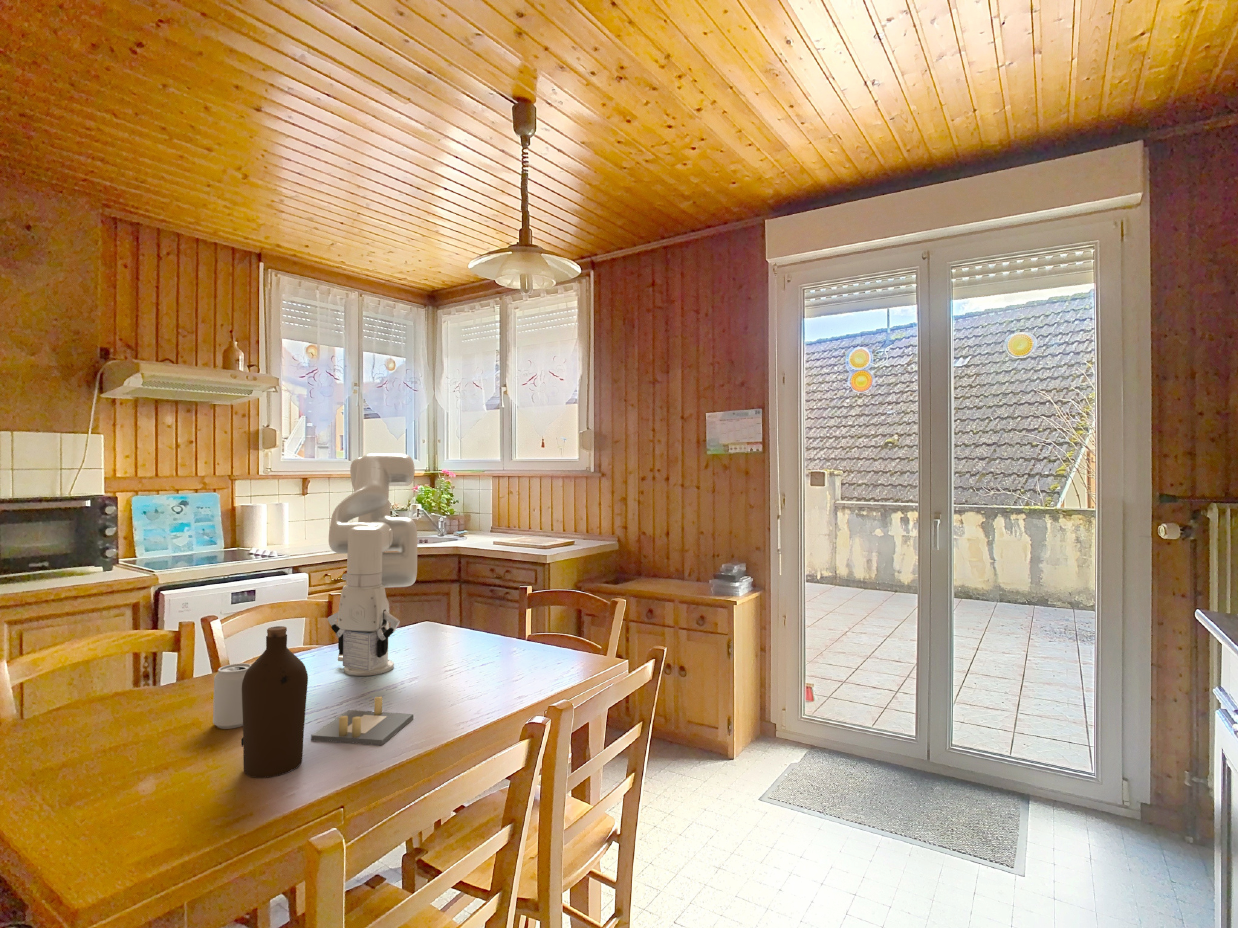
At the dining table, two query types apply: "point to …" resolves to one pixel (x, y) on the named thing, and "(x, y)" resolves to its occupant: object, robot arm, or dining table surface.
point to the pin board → (363, 726)
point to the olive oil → (274, 709)
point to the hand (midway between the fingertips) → (362, 654)
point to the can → (229, 696)
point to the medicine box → (361, 650)
